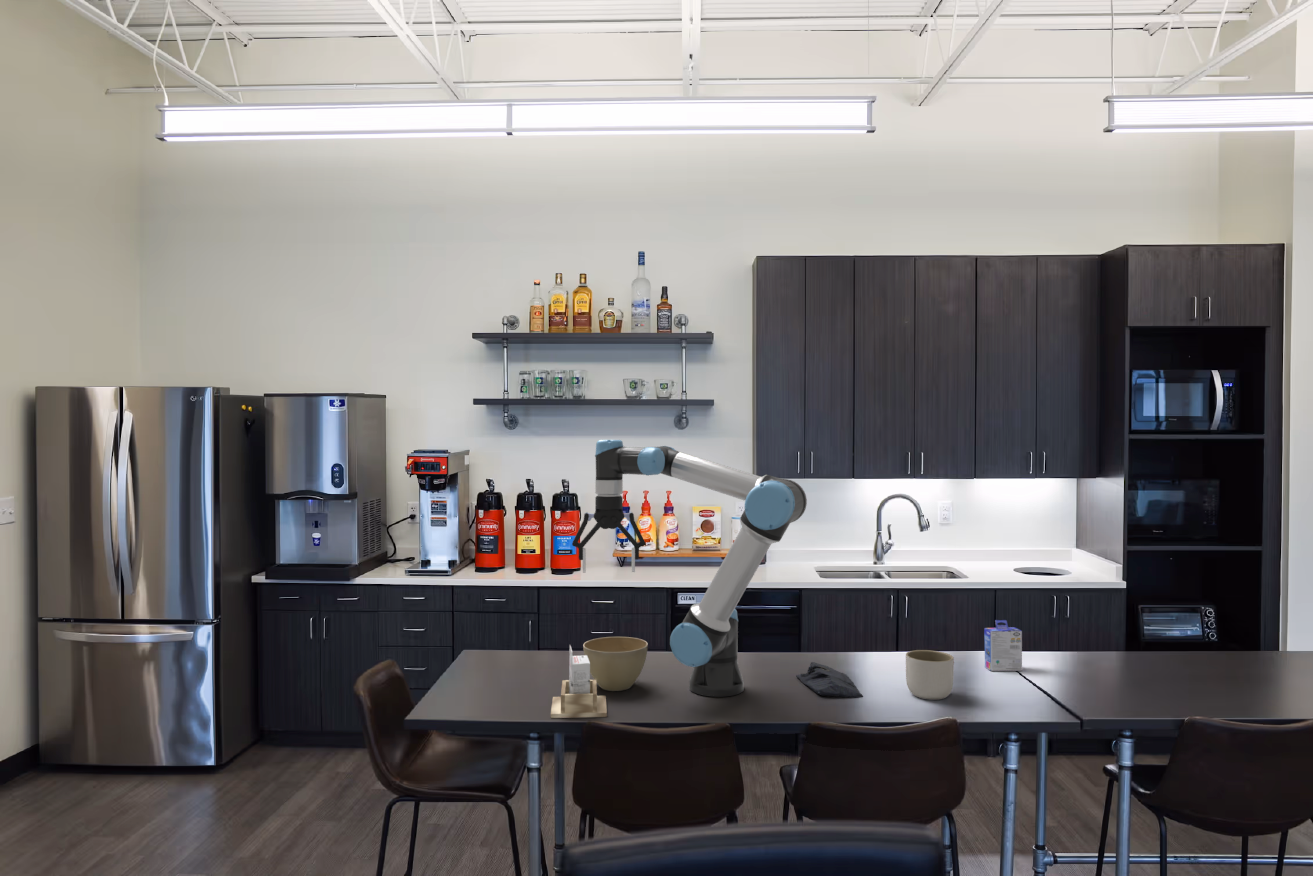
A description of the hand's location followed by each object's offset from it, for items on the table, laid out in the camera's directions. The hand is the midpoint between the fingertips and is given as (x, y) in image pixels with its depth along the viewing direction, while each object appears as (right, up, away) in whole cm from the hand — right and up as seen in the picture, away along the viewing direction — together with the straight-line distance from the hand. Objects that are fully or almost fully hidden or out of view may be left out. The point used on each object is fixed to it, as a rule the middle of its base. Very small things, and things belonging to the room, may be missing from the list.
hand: (608, 571), depth 237 cm
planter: (+88, -33, -5) cm, 94 cm away
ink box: (-7, -32, -16) cm, 37 cm away
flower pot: (+2, -33, +2) cm, 33 cm away
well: (-7, -33, -16) cm, 37 cm away
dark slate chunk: (+62, -34, +4) cm, 71 cm away
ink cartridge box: (+119, -33, +22) cm, 125 cm away
